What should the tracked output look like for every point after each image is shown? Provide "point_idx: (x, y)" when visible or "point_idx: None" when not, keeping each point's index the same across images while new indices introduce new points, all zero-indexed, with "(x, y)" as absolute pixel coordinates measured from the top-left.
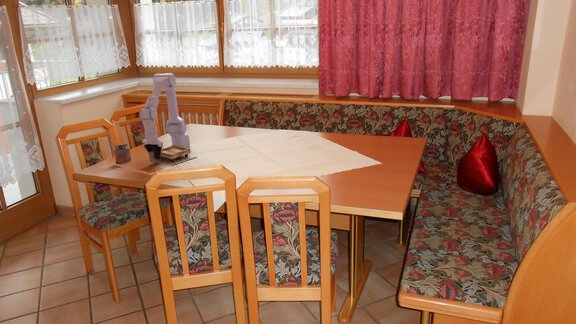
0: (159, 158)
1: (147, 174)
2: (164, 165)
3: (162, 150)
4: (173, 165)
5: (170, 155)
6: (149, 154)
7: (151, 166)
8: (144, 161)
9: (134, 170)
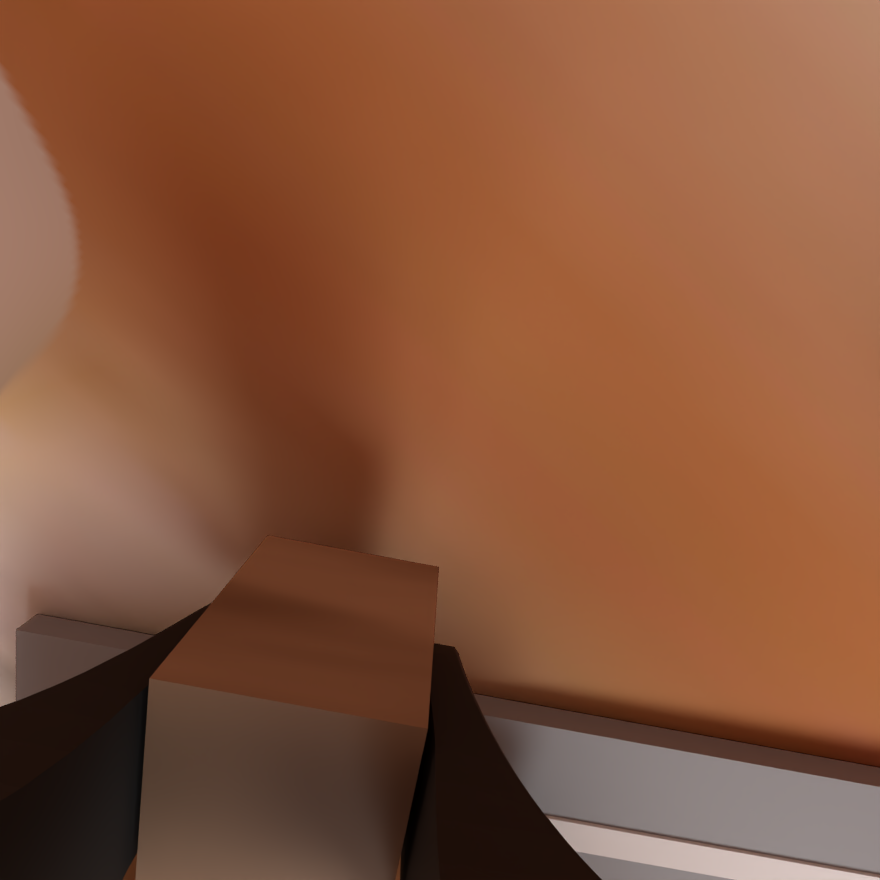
0: None
1: (82, 99)
2: None
3: None
4: (30, 646)
5: None
6: (395, 667)
7: (399, 505)
8: (750, 674)
9: (557, 199)
